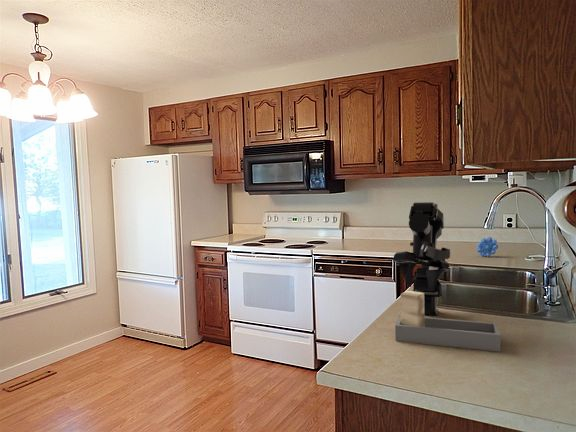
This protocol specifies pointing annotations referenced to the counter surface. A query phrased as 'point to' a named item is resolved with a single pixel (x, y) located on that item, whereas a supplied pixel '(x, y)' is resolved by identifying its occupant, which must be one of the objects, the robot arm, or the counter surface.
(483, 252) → the grapes
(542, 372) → the counter surface
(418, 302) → the birch block
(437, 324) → the box
